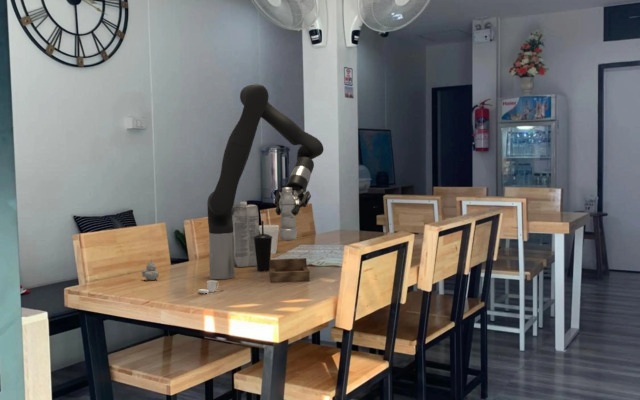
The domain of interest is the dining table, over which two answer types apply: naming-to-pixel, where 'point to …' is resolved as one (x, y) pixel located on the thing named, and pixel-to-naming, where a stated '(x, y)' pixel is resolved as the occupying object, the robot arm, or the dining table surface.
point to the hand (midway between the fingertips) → (286, 213)
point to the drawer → (288, 270)
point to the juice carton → (245, 233)
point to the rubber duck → (150, 272)
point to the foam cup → (273, 232)
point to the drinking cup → (263, 250)
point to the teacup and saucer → (209, 287)
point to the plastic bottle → (287, 215)
